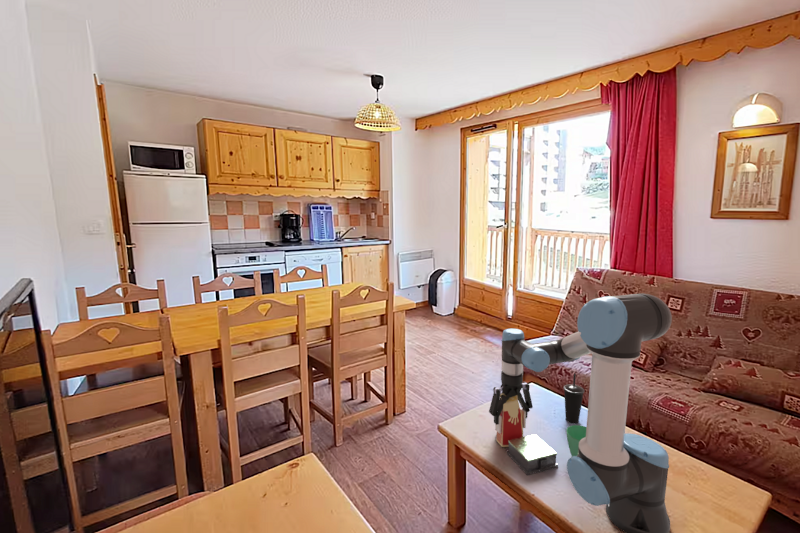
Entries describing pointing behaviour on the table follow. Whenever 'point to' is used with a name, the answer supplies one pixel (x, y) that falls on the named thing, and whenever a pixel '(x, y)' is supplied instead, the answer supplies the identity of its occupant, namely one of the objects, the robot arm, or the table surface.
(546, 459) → the stand
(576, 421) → the drinking cup
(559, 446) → the table surface
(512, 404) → the milk carton
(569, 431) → the mug
